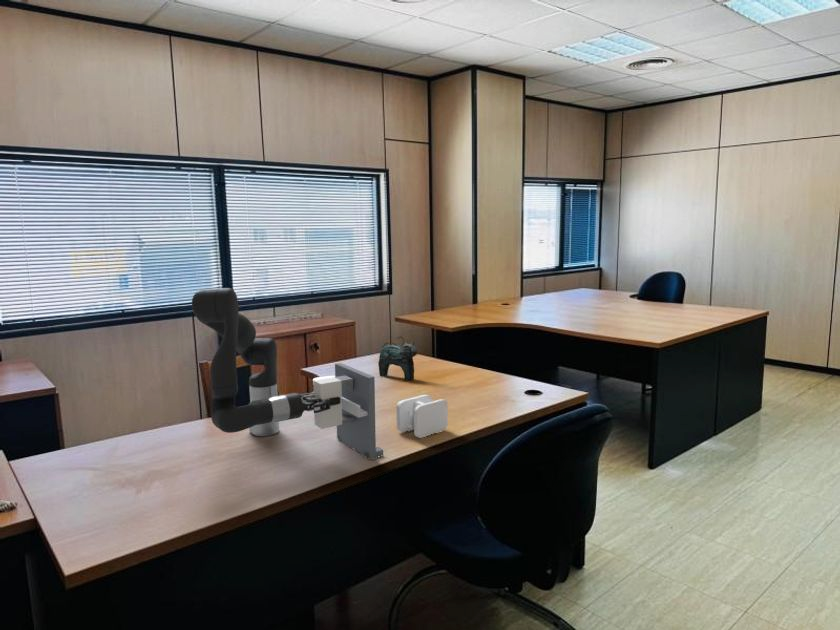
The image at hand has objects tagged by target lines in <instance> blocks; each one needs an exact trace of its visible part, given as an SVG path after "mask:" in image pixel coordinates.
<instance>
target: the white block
mask: <svg viewBox="0 0 840 630" xmlns="http://www.w3.org/2000/svg"><path fill="white" fill-rule="evenodd" d="M312 384H314V385H313V392H314V395H315V398H321V399H327V398H328V399H329V398H334V397H340V404H337V405H332V406H330V409H328V410H325V411H322V412H318V413H314V412H313V414H314V415H313V416H314V417H313V418H314V420H313V421H314V425H315V426H316V427H318V428H320V430H323V429H327V428H332V427H337V426H338V425H342V424H347V423H351V422H354V417H352V416H350V415H348V414H346V413H345V414H342V384H343V388H344V389H346V390H349V391H353V379H352V378H350V377H348V376H346V375H345V376H339V377H332V378H326V379H320V380H314V381H313V380H312ZM323 402H324V401H323ZM317 403H319V401H318V400H317ZM325 405H326V404H325Z"/></svg>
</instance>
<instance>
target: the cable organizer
mask: <svg viewBox="0 0 840 630" xmlns="http://www.w3.org/2000/svg"><path fill="white" fill-rule="evenodd" d="M448 405H449V404H448V401H447V400H445V399H443V398H440V399H437V400H433V399H432V396H431V395H428V394H422V395H417V396H413V397H411V398H410V397H409V398H405V399H402V400H400V401H398V402H397V404H396V429H397V431H400V432H401V433H407V432H406V431H408V432H412V431H413V432H414V433H413V434H414V436H415V437H416V438H419V439H423V438H422V437H425V436H428V435H429V436H431V434H432V435H435V434H434V433H437V432H440V431H442V432H444V431H445V430H446V429H447V427H448V415H449V414H448V407H449V406H448ZM409 430H411V431H409ZM443 430H444V431H443ZM429 436H428V437H429ZM425 438H426V437H425Z"/></svg>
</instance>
